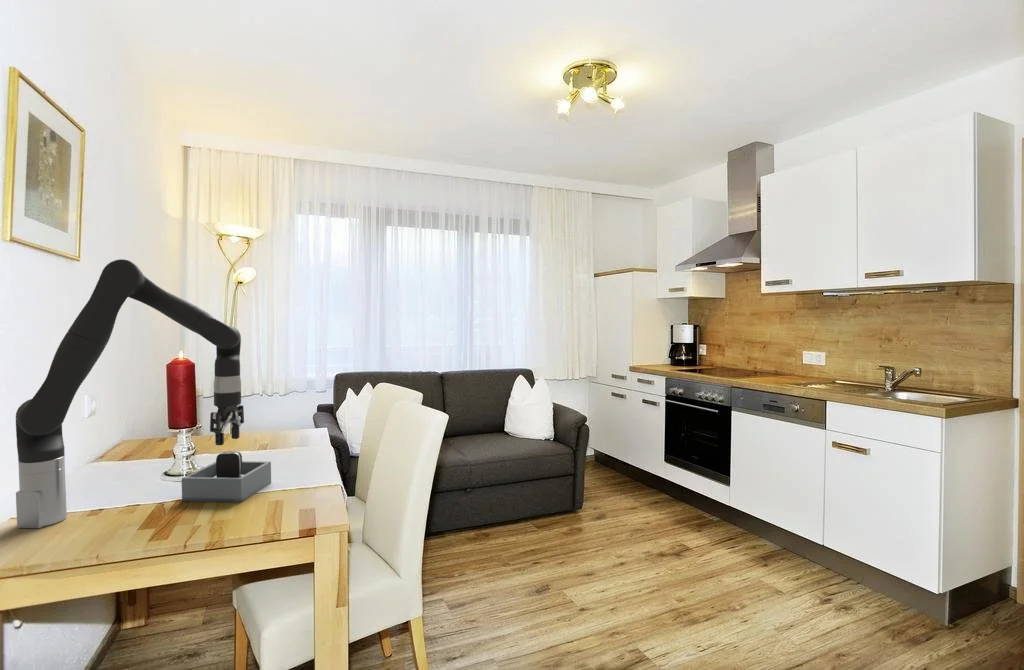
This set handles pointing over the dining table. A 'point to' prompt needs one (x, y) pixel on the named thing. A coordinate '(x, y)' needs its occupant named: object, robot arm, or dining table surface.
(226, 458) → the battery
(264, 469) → the walled box
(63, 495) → the robot arm
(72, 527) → the dining table surface
